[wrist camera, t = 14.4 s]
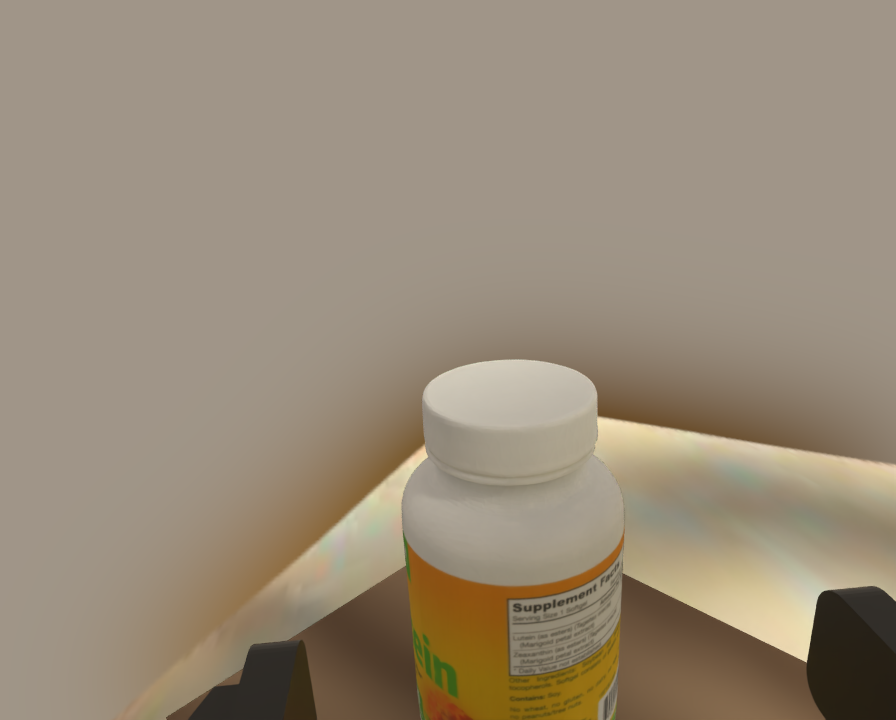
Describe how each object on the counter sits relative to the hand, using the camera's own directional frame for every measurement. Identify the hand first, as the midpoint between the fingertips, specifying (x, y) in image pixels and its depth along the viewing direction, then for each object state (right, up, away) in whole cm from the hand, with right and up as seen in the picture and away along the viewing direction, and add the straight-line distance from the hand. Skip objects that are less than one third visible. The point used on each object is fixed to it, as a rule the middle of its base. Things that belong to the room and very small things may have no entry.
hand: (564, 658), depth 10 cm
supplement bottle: (0, -5, +8) cm, 10 cm away
